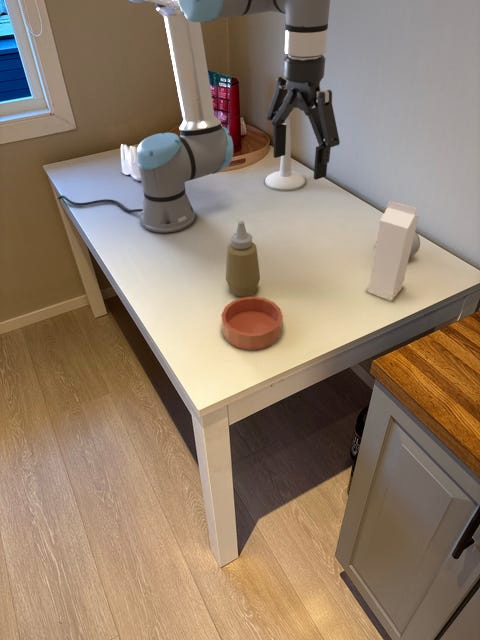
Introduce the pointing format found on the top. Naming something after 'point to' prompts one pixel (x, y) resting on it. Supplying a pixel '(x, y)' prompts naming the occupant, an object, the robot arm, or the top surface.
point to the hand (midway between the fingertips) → (298, 166)
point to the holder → (252, 323)
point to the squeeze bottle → (242, 263)
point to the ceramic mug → (415, 244)
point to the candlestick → (285, 169)
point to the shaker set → (130, 162)
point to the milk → (392, 250)
